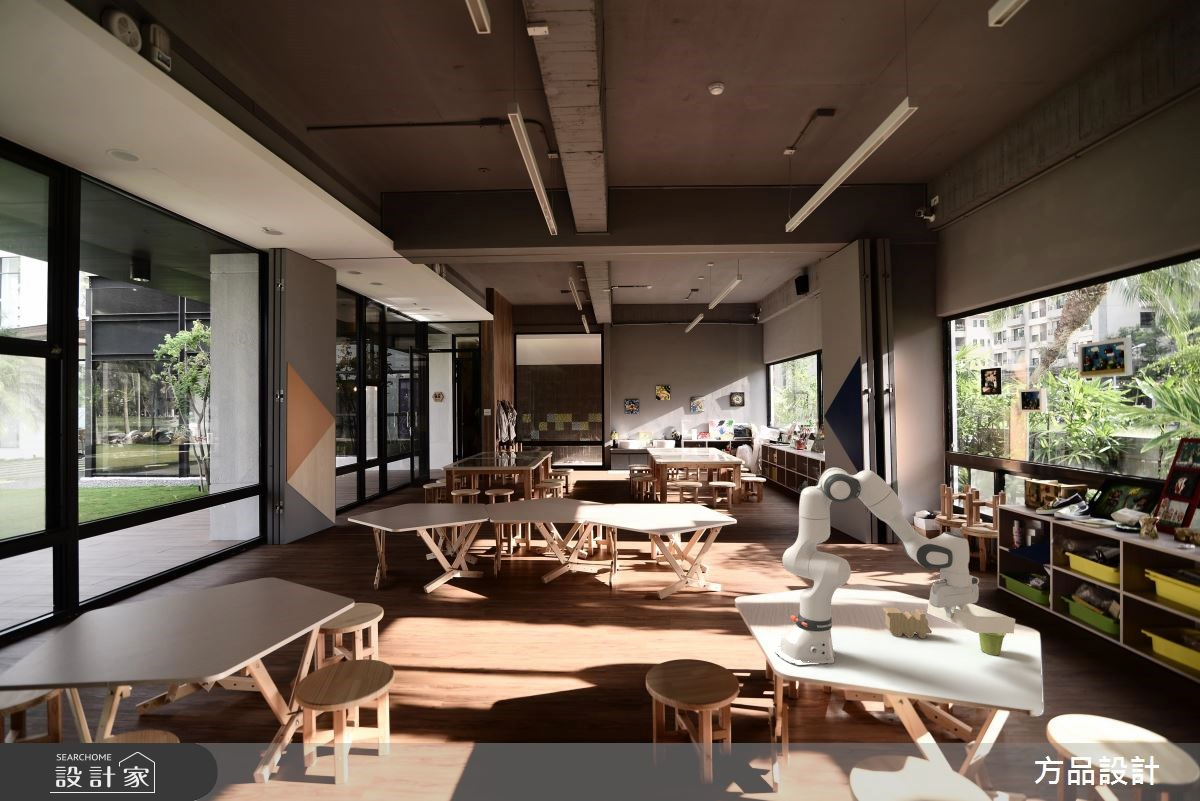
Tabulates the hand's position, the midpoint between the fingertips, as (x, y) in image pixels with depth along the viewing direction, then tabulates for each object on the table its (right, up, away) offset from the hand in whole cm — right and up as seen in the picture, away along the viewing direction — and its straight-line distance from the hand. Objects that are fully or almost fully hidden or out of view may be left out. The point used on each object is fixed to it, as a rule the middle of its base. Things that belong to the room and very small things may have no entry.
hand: (953, 616), depth 205 cm
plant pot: (+23, -19, +14) cm, 33 cm away
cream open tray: (+8, -3, +3) cm, 9 cm away
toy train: (-1, -19, +30) cm, 35 cm away
